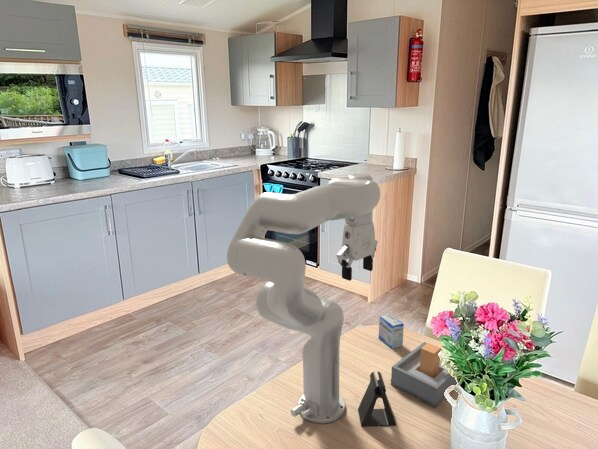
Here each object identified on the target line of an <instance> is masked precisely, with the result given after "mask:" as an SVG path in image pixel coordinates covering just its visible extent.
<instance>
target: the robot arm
mask: <svg viewBox="0 0 598 449" xmlns="http://www.w3.org/2000/svg"><path fill="white" fill-rule="evenodd" d="M378 184H379V183H377V182H376V181H374V178H373V177H372V176H371V175H370V174H366V173H352V174H349V175H347V176H344V177H341V176H340V177H335V178H334V177H333V178H332V179H331V180H329V181H328V183H327V184H326V185H318V186H314V187H312V188H308V189H306V190H303V191H299V192H297V193H291V194H290V193H283V192H282V193H281V192H280V193H279V192H273V191H272V192H271V191H266V192H262V193H261V194H259V195H258V196H257V197H255V199H254V200H253V201H252V203H251V205H250V206H249V207H248V209H247V210H246V213H245V214H244V216H243V218H242V219H241V221H240V223H239V225H238V227H237V229H236V231H235V233H234V235H233V237H232V239H231V240H230V243H229V246H228V248H227V251H226V261H227V265H228V267H229V268H230V270H232V271H233V272H234V273H235V274H238V275H241V276H244V277H247V278H253V279H255V280H256V279H257V280H260V281H265V283H264V284H262V285H261V287H260V288H259V290H258V291H257V294H256V298H255V305H256V306H255V307H256V309H257V312H258V314H259V315H260V317H262V319H265V320H267V321H269V322H271V323H273V324H275V325H278V326H281V327H283V328H286V329H289V330H292V331H296V332H299V333H302V334H305V335H308V336H310V338H309V339H308V340H307V341H306V342H305V343H304V346H303V348H302V369H303V370H302V375H303V376H302V379H303V394H302V395H301V396H300V397H299V399H298V403H297V406H295V407H293V408H292V409H291V410H290V413H291V416H292V417H294V418H295V417H297V416H298V415H301V416H302V418H303V419H306V420H307V421H309V422H311V423H316V424H328V423H332V422H335V421H337V420H339V419H340V418H341V417H342V416H343V415H344V413H345V411H346V402H345V400H344V398H343V397H342V395H340V351H341V350H340V348H341V346H340V344H341V335H342V329H343V325H344V317H345V316H344V315H345V313H344V310H343V308H342V307H341V306H340V305H339V304H338V303H336V302H335V301H332V300H330V299H326V298H323V297H319V295H317V294H316V292H314V291H313V290H311V289H310V288H308V287H307V286H305V285H304V284H305V276H306V269H307V268H306V260H305V256H304V254H303V252H302V251H301V250H300V249H299V248H298V247H297V246H296V245H294V244H291V243H289V242H285V241H283V240H276V239H271V238H266V237H265V236H266V234H267V232H268V231H273V232H276V233H277V232H278V233H283V234H288V235H301V234H304V233H307V232H309V231H311V230H313V229H315V228H317V227H319V226H320V225H322V224H324V223H326V222H329V221H337V220H338V221H339V220H342V219H344V221H345V222H344V227H343V232H342V245H341V249H340V250H339V252H338V253H336V258H337V262H338V263H339V264H340V266H341V278H342V279H344V280H345V281H349V282H350V281H352V279H353V268H352V267H351V266H352V264H353V262H354V261H355V262H356V261H360V260H362V268H363V270H365V271H369V272H372V271H373V268H374V265H373V264H374V258H375V253H376V251H377V245H378V243H379V241H378V240H377V239H376V231H375V225H374V221H373V211H374V209H375V208H376V207H377V205H378V204H379V202H380V199H381V188H380V186H379V185H378ZM347 260H348V261H347Z"/></svg>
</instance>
